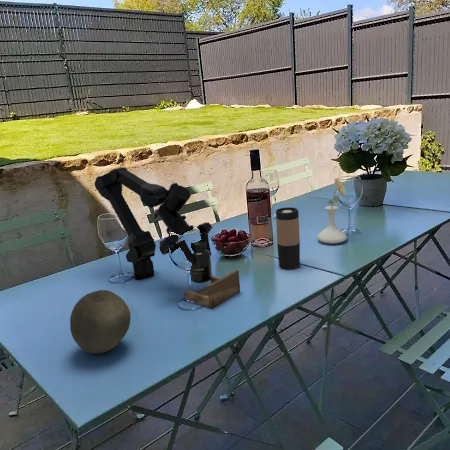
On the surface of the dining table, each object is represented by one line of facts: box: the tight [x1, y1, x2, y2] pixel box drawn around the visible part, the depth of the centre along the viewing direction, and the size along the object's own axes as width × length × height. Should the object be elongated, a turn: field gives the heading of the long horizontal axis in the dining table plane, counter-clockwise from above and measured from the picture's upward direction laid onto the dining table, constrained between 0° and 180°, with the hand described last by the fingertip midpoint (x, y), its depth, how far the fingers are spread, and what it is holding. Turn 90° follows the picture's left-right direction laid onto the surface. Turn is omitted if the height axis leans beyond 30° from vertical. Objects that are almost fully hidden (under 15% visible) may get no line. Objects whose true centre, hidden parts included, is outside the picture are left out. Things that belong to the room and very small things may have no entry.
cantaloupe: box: [69, 289, 131, 355], centre depth 105 cm, size 14×14×15 cm
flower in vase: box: [316, 177, 348, 244], centre depth 167 cm, size 13×11×25 cm
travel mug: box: [275, 207, 301, 271], centre depth 146 cm, size 8×8×20 cm
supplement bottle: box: [189, 240, 213, 284], centre depth 131 cm, size 7×7×12 cm
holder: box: [183, 269, 241, 310], centre depth 130 cm, size 11×13×7 cm
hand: (202, 259), depth 130 cm, fingers closed on supplement bottle, 7 cm apart
